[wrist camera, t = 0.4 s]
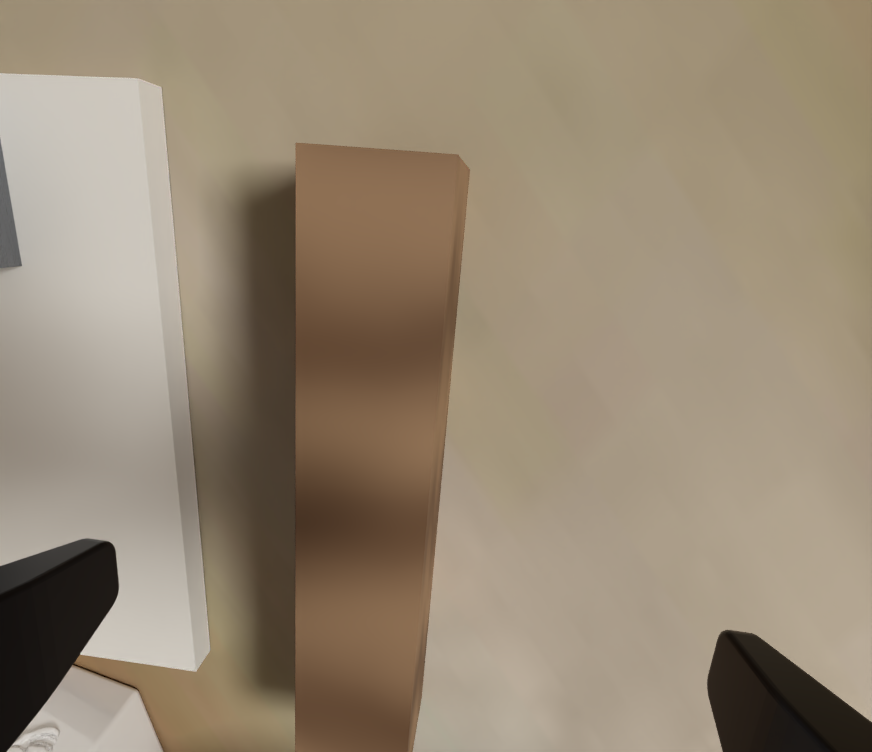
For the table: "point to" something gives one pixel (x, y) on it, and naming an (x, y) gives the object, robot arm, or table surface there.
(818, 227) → the table surface
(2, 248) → the bracket
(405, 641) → the walnut rail
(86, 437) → the mounting board
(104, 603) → the robot arm
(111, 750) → the jar
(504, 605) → the table surface
